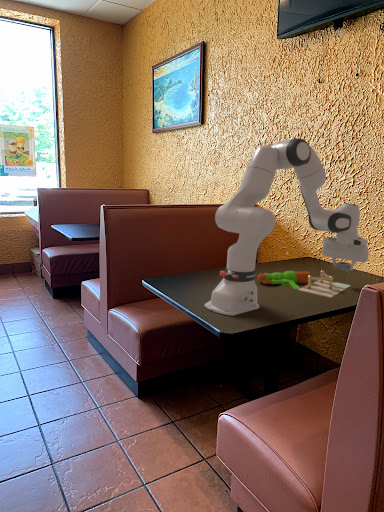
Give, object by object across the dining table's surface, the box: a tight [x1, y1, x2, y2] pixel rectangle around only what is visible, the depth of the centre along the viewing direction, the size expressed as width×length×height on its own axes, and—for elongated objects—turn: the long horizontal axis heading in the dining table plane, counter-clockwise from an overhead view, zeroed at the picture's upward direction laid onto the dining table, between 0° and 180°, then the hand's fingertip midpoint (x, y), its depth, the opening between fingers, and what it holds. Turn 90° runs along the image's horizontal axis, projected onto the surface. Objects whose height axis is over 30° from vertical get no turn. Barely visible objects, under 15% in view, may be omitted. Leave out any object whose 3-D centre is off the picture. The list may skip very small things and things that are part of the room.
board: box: [297, 280, 348, 298], centre depth 173 cm, size 25×15×1 cm, turn 139°
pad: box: [332, 282, 352, 290], centre depth 177 cm, size 7×7×1 cm
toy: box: [257, 270, 312, 290], centre depth 177 cm, size 7×25×15 cm
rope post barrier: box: [307, 269, 335, 289], centre depth 173 cm, size 16×9×6 cm, turn 139°
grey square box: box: [334, 260, 353, 273], centre depth 175 cm, size 6×6×3 cm
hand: (342, 268), depth 175 cm, fingers closed on grey square box, 5 cm apart
